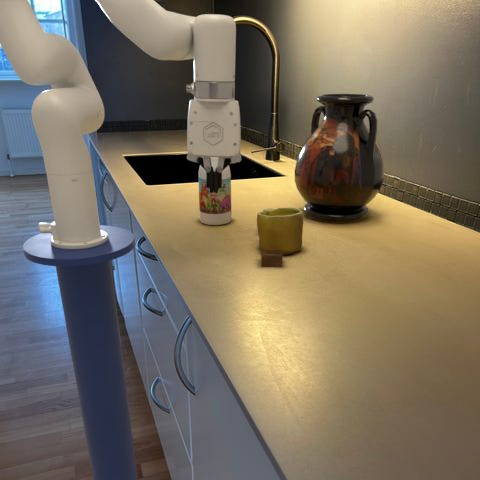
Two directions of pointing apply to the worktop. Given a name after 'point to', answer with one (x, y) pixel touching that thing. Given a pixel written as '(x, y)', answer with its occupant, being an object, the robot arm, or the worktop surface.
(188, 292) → the worktop surface
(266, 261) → the block
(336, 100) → the amphora vase
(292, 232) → the mug
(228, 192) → the milk bottle
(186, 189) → the worktop surface
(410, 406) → the worktop surface
